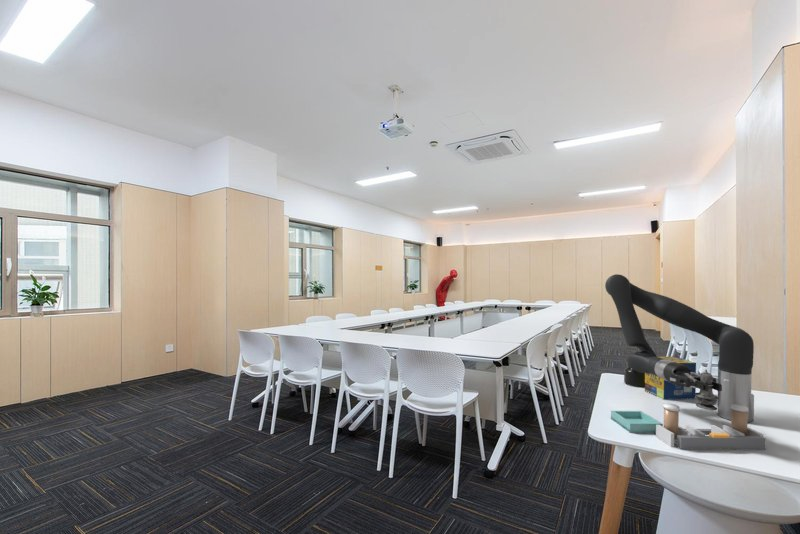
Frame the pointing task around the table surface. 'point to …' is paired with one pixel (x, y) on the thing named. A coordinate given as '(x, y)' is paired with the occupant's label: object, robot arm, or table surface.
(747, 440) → the fuse rail
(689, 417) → the table surface
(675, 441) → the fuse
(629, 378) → the ink bottle
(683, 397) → the protein box
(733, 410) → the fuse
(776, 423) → the table surface
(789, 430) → the table surface
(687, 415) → the table surface
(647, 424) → the tray
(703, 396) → the salt shaker
